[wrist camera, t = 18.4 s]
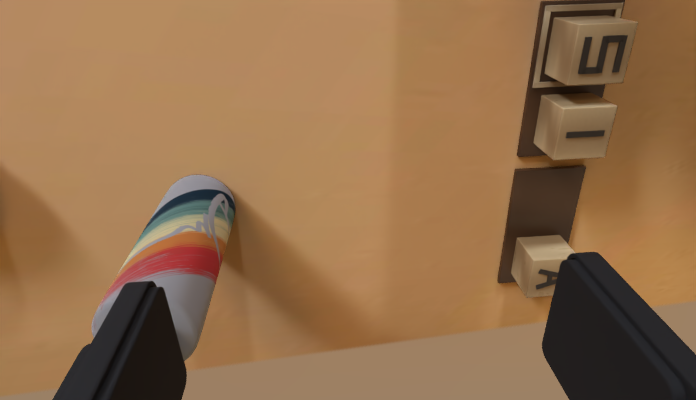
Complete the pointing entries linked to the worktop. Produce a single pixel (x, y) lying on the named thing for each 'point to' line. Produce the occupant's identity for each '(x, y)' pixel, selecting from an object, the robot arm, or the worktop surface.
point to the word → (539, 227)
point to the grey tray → (565, 95)
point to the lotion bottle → (180, 254)
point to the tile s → (590, 49)
